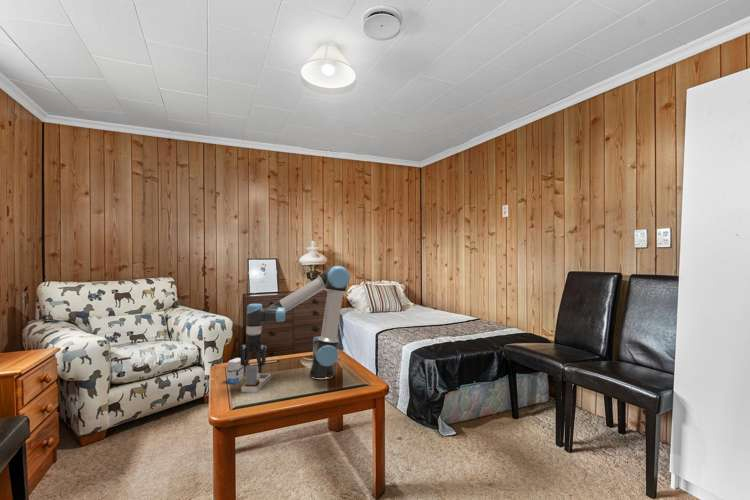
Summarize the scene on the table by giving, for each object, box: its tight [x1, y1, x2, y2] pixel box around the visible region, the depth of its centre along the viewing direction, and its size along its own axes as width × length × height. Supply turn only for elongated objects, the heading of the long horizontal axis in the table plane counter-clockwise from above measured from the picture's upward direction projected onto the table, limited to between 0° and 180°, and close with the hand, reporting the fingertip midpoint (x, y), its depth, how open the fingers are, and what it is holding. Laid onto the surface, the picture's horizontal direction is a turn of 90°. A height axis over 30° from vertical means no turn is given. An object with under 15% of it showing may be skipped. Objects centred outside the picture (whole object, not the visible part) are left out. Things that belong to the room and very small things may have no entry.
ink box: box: [226, 357, 245, 385], centre depth 200 cm, size 8×5×12 cm, turn 168°
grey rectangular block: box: [245, 364, 259, 386], centre depth 188 cm, size 5×5×10 cm
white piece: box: [240, 373, 272, 393], centre depth 194 cm, size 8×22×3 cm, turn 177°
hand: (252, 378), depth 188 cm, fingers closed on grey rectangular block, 5 cm apart
